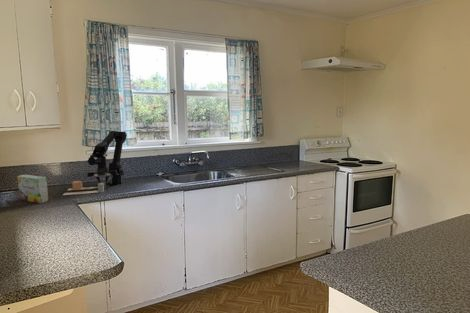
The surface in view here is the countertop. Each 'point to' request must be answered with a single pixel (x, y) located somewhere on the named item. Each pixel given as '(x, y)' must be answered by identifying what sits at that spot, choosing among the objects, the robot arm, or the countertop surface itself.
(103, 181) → the beige rectangular bar
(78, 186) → the terracotta block
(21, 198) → the snack box
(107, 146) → the robot arm
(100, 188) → the white long bar
